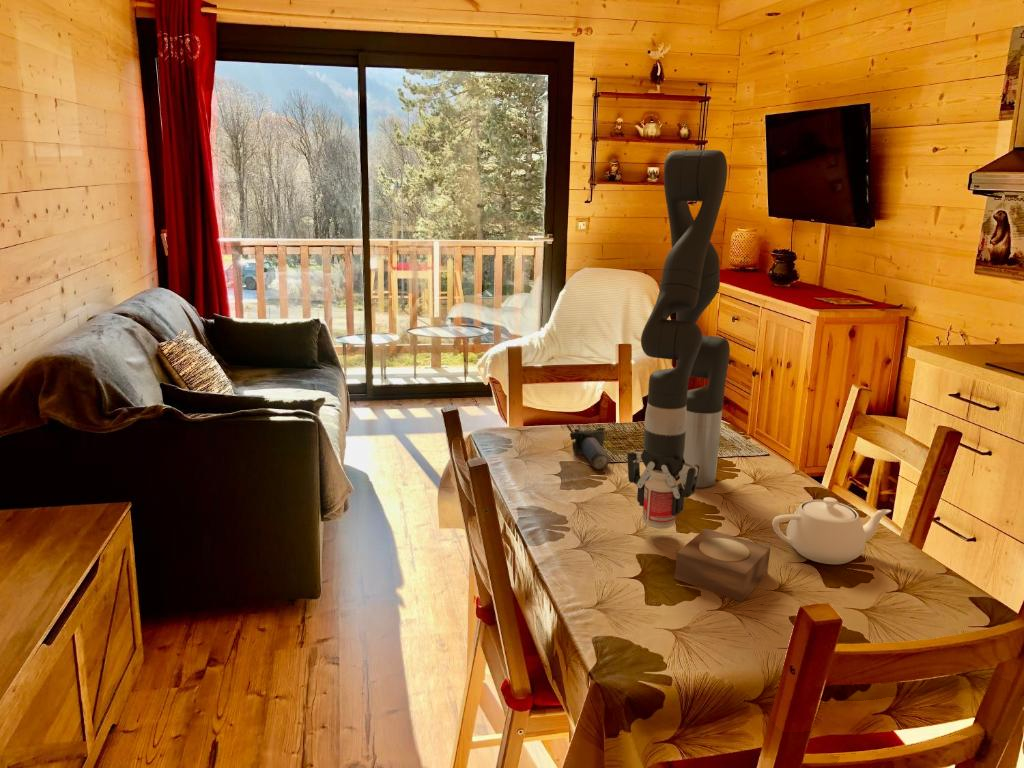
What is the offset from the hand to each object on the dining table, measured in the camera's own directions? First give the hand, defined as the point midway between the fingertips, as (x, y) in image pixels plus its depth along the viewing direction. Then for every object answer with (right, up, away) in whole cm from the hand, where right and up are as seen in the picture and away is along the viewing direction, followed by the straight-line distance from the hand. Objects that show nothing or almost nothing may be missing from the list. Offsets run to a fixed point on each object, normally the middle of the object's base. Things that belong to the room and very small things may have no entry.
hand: (659, 509), depth 153 cm
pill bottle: (0, -3, +1) cm, 3 cm away
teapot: (+30, -8, -4) cm, 32 cm away
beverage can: (-8, +5, +39) cm, 40 cm away
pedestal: (+8, -10, -13) cm, 18 cm away
